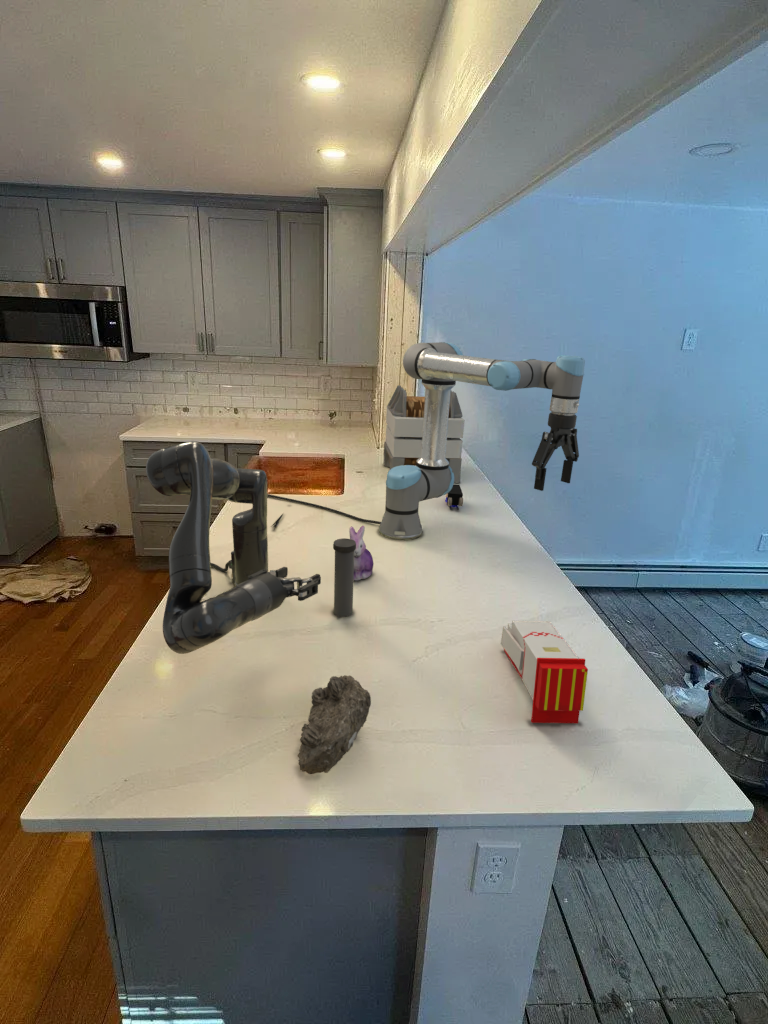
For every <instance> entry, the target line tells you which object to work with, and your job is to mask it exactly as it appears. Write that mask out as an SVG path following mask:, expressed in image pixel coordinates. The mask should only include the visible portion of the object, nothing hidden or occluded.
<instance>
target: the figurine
mask: <svg viewBox="0 0 768 1024" xmlns="http://www.w3.org/2000/svg"><path fill="white" fill-rule="evenodd" d="M348 529H349V530H348V532H349V539H352V540H354V541H355V542H356V549H355V551H354V578H353V581H360V580H365V579H368V578H369V577H370V576H371V575H372V574H373V570H374V559H373V555H372V553H371V551H369V550H368V549H367V545H366V543H365V541H364V535H365V531H366V527H365V525H361V526H360V527H359V529H358V531H357V532H356V530H355V528H354V526H350V527H349V528H348Z"/></svg>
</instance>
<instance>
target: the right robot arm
mask: <svg viewBox="0 0 768 1024" xmlns="http://www.w3.org/2000/svg"><path fill="white" fill-rule="evenodd" d="M585 365H586V360H585V358H584V357H582V356H578V355H566V354H565V355H564V354H563V355H558V356H557V357H556V360H555V361H549V360H541V359H536V358H524V359H521V360H506V359H505V360H504V359H503V360H502V359H496V358H487V357H479V356H471V355H464V354H463V352H462V350H461V349H460V347H459V346H457V345H456V344H455V343H451V342H445V341H443V342H442V341H441V342H440V341H439V342H438V341H437V342H417V343H414V344H412V345H411V346H409V347H408V348H407V350H406V351H405V353H404V355H403V358H402V366H403V369H404V372H405V373H406V374H407V375H408V376H409V377H411V378H412V379H415V380H421V385H422V386H423V387H424V389H425V392H424V397H425V404H424V419H423V434H422V449H421V457H420V458H418V459H417V461H416V466H413V465H401V466H396V467H394V468H392V469H390V468H389V470H388V472H387V474H386V479H385V504H384V505H385V507H384V508H385V509H384V513H383V515H382V519H381V521H379V520H372V519H365V518H361V517H359V516H358V517H357V516H356V515H355V516H354V515H352V514H349V513H347V512H343V511H340V510H338V509H334V508H330V507H327V506H324V505H320V504H316V503H311V502H307V501H302V500H298V499H294V498H289V497H284V496H279V495H274V494H269V493H267V498H273V499H278V500H282V501H287V502H292V503H296V504H301V505H306V506H310V507H314V508H317V509H322V510H326V511H328V512H332V513H336V514H338V515H341V516H345V517H348V518H351V519H353V520H356V521H359V522H364V523H367V524H369V523H370V524H376V525H379V526H378V533H379V534H380V535H381V536H382V537H385V538H387V539H389V540H395V541H410V540H415V539H418V538H420V537H421V536H422V535H423V525H422V524H421V518H420V515H419V507H420V506H419V505H420V502H423V501H427V500H431V499H437V498H440V497H443V496H446V494H447V493H448V492H449V491H450V490H451V489H452V487H453V484H455V483H454V473H452V469H451V467H450V466H449V462H448V461H447V459H446V458H445V453H446V441H447V428H448V416H449V404H450V392H451V391H452V389H453V388H454V387H455V386H456V384H457V382H461V383H465V384H473V385H479V386H487V387H491V388H492V389H494V390H496V391H503V392H504V391H511V390H520V389H532V388H533V389H534V388H539V389H546V390H551V398H550V404H549V413H548V418H547V419H548V420H547V426H548V427H549V428H550V431H549V432H548V431H543V432H542V435H541V440H540V442H539V445H538V447H537V449H536V452H535V454H534V457H533V460H532V461H531V466H533V467H535V475H534V477H535V478H534V485H533V489H534V490H537V491H539V492H543V491H544V489H545V484H546V483H545V482H546V476H547V468H546V466H547V465H548V463H549V461H550V459H551V457H552V456H553V454H554V453H555V451H556V450H557V449H558V448H560V447H561V449H562V452H563V455H564V458H565V459H563V463H562V468H561V469H562V470H561V475H560V482H562V483H566V484H571V478H572V472H573V466H574V463H576V462H578V461H579V457H580V453H579V444H578V428H576V423H577V419H578V416H577V414H578V412H579V411H578V410H579V406H580V397H581V391H582V385H583V380H584V376H585Z"/></svg>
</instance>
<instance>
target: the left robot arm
mask: <svg viewBox="0 0 768 1024" xmlns="http://www.w3.org/2000/svg"><path fill="white" fill-rule="evenodd" d="M145 473H146V477H147V479H148V482H149V483H150V485H151V486H152V487H153V488H154V489H155V490H156V492H158V493H159V494H161V495H163V496H166V497H174V496H184V495H186V496H188V495H189V496H190V497H189V501H188V504H187V507H186V509H185V513H184V515H183V517H182V519H181V521H180V523H179V525H178V526H177V528H176V530H175V532H174V534H173V536H172V539H171V542H170V544H169V549H168V575H169V590H168V594H167V596H166V602H165V608H164V612H163V618H162V635H163V639H164V641H165V644H166V646H167V647H168V648H169V649H170V651H172V652H174V653H176V654H178V655H179V654H180V655H186V654H190V653H192V652H195V651H197V650H199V649H202V648H204V647H206V646H209V645H210V644H213V643H215V642H217V641H218V640H220V639H222V638H223V637H225V636H226V635H228V634H230V633H231V632H232V631H234V630H237V629H238V628H240V627H242V626H244V625H246V624H247V623H250V622H253V621H255V620H258V619H260V618H262V617H263V616H265V615H267V614H269V613H270V612H272V611H274V610H276V609H279V607H281V605H282V604H283V603H284V601H285V600H286V599H287V598H290V597H294V596H295V597H297V601H300V602H302V601H305V600H307V599H309V598H311V597H313V596H316V595H317V594H318V592H319V585H321V583H322V581H321V580H322V577H321V574H320V573H316V574H313V575H311V576H309V577H307V578H301V577H300V576H298V577H288V574H289V571H288V569H289V568H288V567H287V566H282V567H280V568H277V569H271V570H269V545H268V540H269V539H268V496H267V494H268V491H269V490H268V489H269V488H268V487H269V486H268V485H269V482H268V476H267V474H266V471H265V470H263V469H259V468H257V469H256V468H254V469H253V468H241V467H238V468H237V467H235V466H234V465H233V464H231V463H230V462H228V461H226V460H223V459H221V458H216V457H211V456H210V452H209V451H208V450H207V448H206V447H205V445H204V444H202V442H199V441H196V440H195V441H194V440H193V441H187V442H183V443H180V444H176V445H172V446H167V447H164V448H160V449H158V450H155V451H154V452H152V453H151V454H150V455H149V457H148V458H147V460H146V464H145ZM213 500H217V501H220V500H221V501H222V500H226V501H229V502H231V503H236V504H249V505H252V507H251V508H250V509H247V510H244V511H240V512H238V513H236V514H234V515H233V517H232V519H231V525H232V526H231V528H232V543H233V550H231V552H230V560H227V562H226V563H225V566H224V568H223V567H221V566H219V564H216V563H213V562H211V553H210V532H211V531H210V529H211V519H212V518H211V517H212V510H213V508H212V507H213ZM212 568H214V569H216V570H217V571H219V572H222V573H227V572H228V571H229V569H230V570H231V578H232V579H231V580H232V584H234V585H235V586H234V587H231V588H229V589H228V590H225V591H223V592H221V593H219V594H217V595H216V596H213V597H210V598H207V599H205V600H202V599H204V597H205V596H206V595H207V594H208V593H209V592H210V590H211V589H212V586H213V577H212V575H213V574H212ZM295 583H296V588H295Z"/></svg>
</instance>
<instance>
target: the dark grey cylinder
mask: <svg viewBox="0 0 768 1024" xmlns="http://www.w3.org/2000/svg"><path fill="white" fill-rule="evenodd" d="M353 578H354V551H353V552H350V553H340V552H337V551H335V550H334V582H333V585H334V588H333V614H334V615H335V616H336V617H339V618H348V617H351V616H352V615H353V613H354V612H353V610H354V580H353Z"/></svg>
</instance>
